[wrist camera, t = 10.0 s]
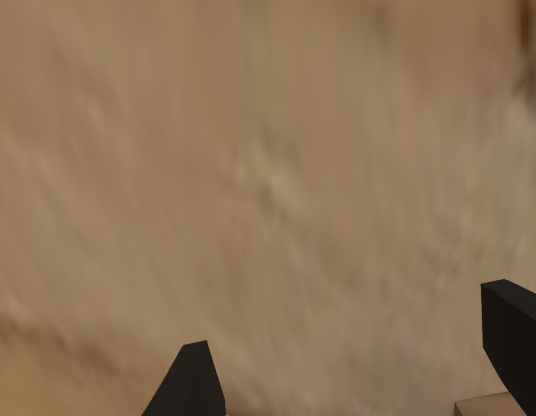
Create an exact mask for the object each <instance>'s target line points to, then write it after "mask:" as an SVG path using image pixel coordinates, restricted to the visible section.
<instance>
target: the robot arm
mask: <svg viewBox="0 0 536 416" xmlns="http://www.w3.org/2000/svg"><path fill="white" fill-rule="evenodd" d="M481 304H482V334H483V348H484V350H485V352H486V354H487V356H488V358H489V359H490V361H491V363H492V365H493V367H494V369H495V370H496V372H497V374H498V375H499V377H500V379H501V381H502V382H503V384H504V385H505V387H506V388H507V389H508V391H509V392H510V394H511V395H512V396H513V398H514V399H515V400H516V402H517V403H518V404H519V406H520V407H521V409H522V410H523V411H524V413H525V414H526V415H527V416H536V294H535V293H533V292H531V291H529V290H527V289H525V288H523V287H521V286H519V285H517V284H515V283H513V282H510V281H508V280H506V279H502V280H497V281H492V282H487V283H482V284H481ZM141 416H228V415H226V411H225V398H224V395H223V392H222V389H221V385H220V382H219V379H218V376H217V373H216V369H215V366H214V363H213V360H212V356H211V353H210V350H209V347H208V343H207V340H205V341H200V342H196V343H191V344H186V345H183V347H182V348H181V350H180V351H179V353H178V355H177V357H176V358H175V360H174V362H173V364H172V366H171V367H170V369H169V371H168V373H167V374H166V376H165V378H164V380H163V381H162V383H161V385H160V386H159V388H158V390H157V391H156V393H155V395H154V396H153V398H152V400H151V401H150V403H149V404H148V406H147V408H146V409H145V411H144V412H143V414H142V415H141Z"/></svg>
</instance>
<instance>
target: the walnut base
mask: <svg viewBox="0 0 536 416" xmlns="http://www.w3.org/2000/svg"><path fill="white" fill-rule="evenodd" d="M455 405H456V416H527V415H526V414H525V413H524V411H523V410H522V409H521V407H520V406H519V404H518V403H517V402H516V400H515V399H514V398H513V396H512V395H511V394H510V392H504V393H499V394H494V395H489V396H484V397H479V398H474V399H469V400H464V401H459V402H455Z"/></svg>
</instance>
